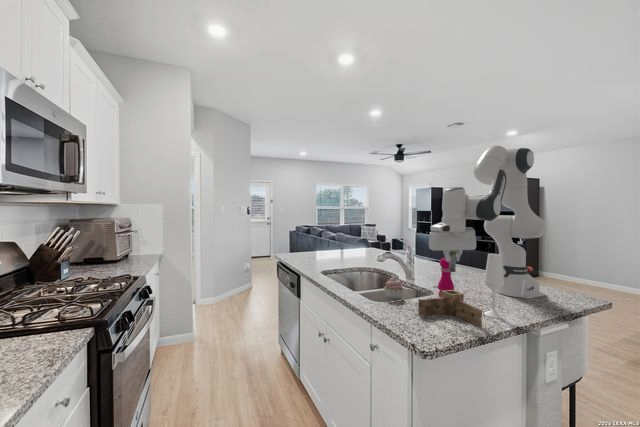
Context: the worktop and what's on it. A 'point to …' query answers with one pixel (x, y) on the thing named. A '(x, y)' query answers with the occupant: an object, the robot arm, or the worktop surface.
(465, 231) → the robot arm
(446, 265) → the pepper mill
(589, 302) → the worktop surface
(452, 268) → the hinge pin
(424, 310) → the hinge
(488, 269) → the champagne flute
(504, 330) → the worktop surface
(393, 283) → the cupcake
